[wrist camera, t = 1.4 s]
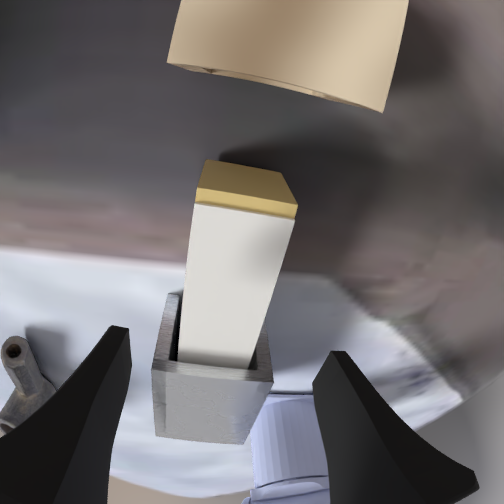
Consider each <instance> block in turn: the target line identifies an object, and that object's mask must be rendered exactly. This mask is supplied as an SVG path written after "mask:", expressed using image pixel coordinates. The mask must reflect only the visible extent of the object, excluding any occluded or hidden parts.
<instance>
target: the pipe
mask: <svg viewBox="0 0 504 504" xmlns="http://www.w3.org/2000/svg"><path fill="white" fill-rule="evenodd" d="M1 359H2V363H3V365H4V368H5V369H6V371H7V373H8V375H9V376H10V378H11V380H12V381H13V383H14V384H15V386H16V388H15V389H14V391H13V393H12V394H11V396H10V398H9V400H8V401H7V403H6V404H5V406H4V407H3V409H2V410H1V412H0V430H1V431H2V432H3V433H4V434H7V433H8V432H9V431H11V430H12V429H14V428H15V427H16V426H18V425H19V424H21V423H22V422H23V421H24V420H26V419H27V418H28V417H29V416H30V415H31V414H33V413H34V412H35V411H36V410H37V409H38V408H40V407H41V406H42V405H43V404H44V403H45V402H46V401H47V400H48V399H49V398H50V397H51V396H52V395H53V394H54V393H55V392H56V390H55V388H54V386H53V385H52V384H51V383H50V382H49V381H48V380H46V379H45V378H44V377H43V376H42V375H41V373H40V370H39V367H38V365H37V363H36V360H35V358H34V356H33V353H32V351H31V349H30V346H29V344H28V342H27V340H26V339H24V338H22V337H20V336H12V337H9V338H8V339H7V340H6V341H5V343H4V344H3V346H2V349H1Z"/></svg>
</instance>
